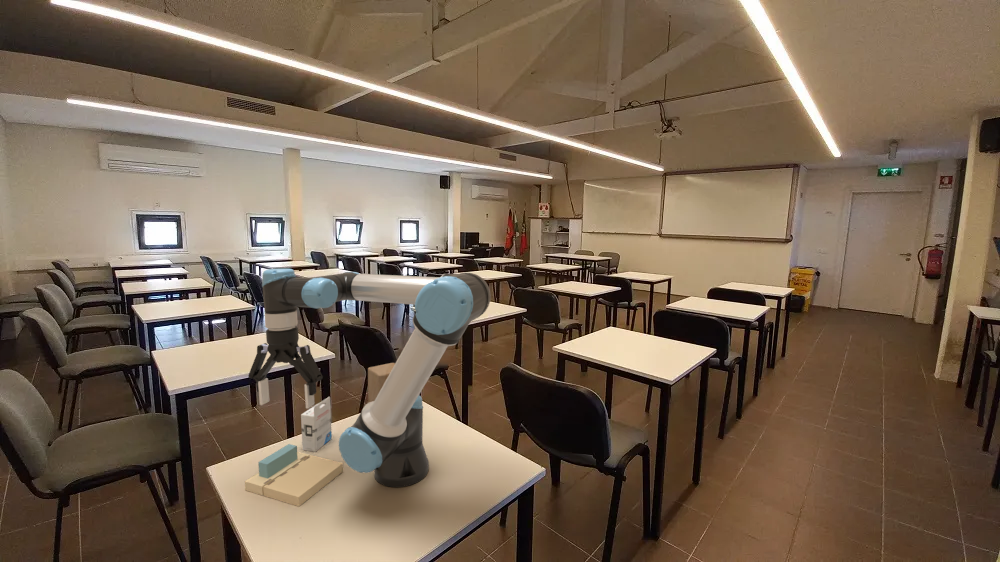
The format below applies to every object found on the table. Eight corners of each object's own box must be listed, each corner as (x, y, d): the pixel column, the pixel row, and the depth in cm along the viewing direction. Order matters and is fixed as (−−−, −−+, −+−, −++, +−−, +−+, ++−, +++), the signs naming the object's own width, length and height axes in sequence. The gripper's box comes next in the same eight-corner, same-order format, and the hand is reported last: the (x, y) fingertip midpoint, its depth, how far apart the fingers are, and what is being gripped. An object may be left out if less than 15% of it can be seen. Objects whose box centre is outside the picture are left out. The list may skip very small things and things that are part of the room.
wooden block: (394, 413, 154) (393, 362, 151) (406, 423, 146) (406, 369, 144) (368, 420, 147) (367, 367, 145) (380, 431, 140) (379, 375, 137)
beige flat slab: (343, 471, 117) (342, 462, 116) (298, 506, 102) (298, 496, 101) (310, 462, 120) (310, 454, 120) (263, 495, 105) (263, 486, 105)
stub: (309, 462, 120) (309, 441, 120) (262, 495, 105) (261, 471, 105) (293, 458, 122) (293, 438, 122) (245, 490, 107) (243, 466, 107)
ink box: (318, 436, 135) (317, 394, 133) (332, 438, 134) (331, 395, 133) (301, 450, 127) (299, 404, 125) (315, 452, 126) (314, 406, 124)
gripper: (333, 325, 109) (337, 401, 112) (250, 322, 113) (256, 396, 116) (316, 332, 102) (321, 413, 104) (228, 329, 106) (235, 407, 108)
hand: (287, 404), depth 110 cm, fingers open, 13 cm apart
